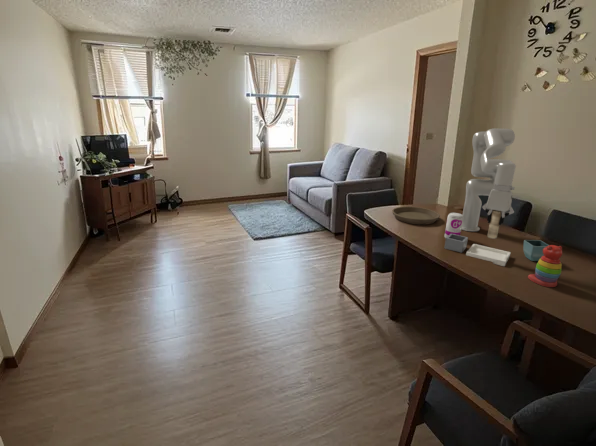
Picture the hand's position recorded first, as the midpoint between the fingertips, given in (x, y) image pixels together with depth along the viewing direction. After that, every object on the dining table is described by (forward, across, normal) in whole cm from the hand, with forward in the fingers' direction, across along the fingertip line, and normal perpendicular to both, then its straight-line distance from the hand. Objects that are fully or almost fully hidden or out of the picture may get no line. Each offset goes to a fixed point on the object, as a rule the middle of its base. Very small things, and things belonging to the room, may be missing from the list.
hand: (494, 223), depth 181 cm
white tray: (+19, 0, 0) cm, 19 cm away
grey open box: (+18, +16, +1) cm, 24 cm away
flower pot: (+19, -19, -12) cm, 29 cm away
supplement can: (+19, +22, -14) cm, 32 cm away
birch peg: (+8, 0, 0) cm, 8 cm away
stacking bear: (+19, -26, +14) cm, 35 cm away
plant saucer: (+19, +53, -38) cm, 68 cm away
